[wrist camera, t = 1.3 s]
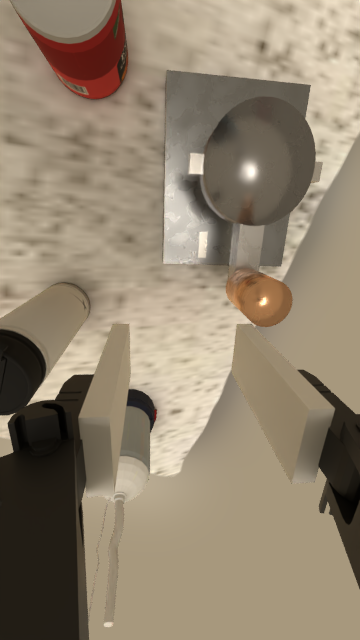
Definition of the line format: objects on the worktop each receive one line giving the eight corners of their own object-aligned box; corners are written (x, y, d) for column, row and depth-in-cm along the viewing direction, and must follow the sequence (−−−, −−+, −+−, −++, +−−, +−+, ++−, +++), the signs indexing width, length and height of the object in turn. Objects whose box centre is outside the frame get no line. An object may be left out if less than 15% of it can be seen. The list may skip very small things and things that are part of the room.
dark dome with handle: (189, 104, 24) (209, 44, 16) (319, 116, 26) (398, 66, 17) (181, 298, 30) (192, 326, 22) (286, 300, 32) (333, 326, 23)
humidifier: (162, 419, 45) (175, 630, 22) (118, 437, 45) (83, 664, 22) (141, 381, 42) (131, 578, 19) (94, 401, 43) (25, 618, 19)
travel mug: (96, 289, 37) (39, 358, 18) (83, 331, 39) (20, 434, 20) (49, 273, 35) (-66, 330, 17) (38, 318, 37) (-76, 414, 18)
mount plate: (166, 77, 30) (170, 32, 23) (303, 91, 31) (347, 53, 24) (162, 261, 36) (165, 271, 29) (276, 264, 38) (304, 274, 31)
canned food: (139, 88, 30) (133, 17, 19) (71, 112, 30) (29, 54, 20) (111, -2, 27) (88, -141, 17) (37, 24, 27) (-33, -97, 17)
